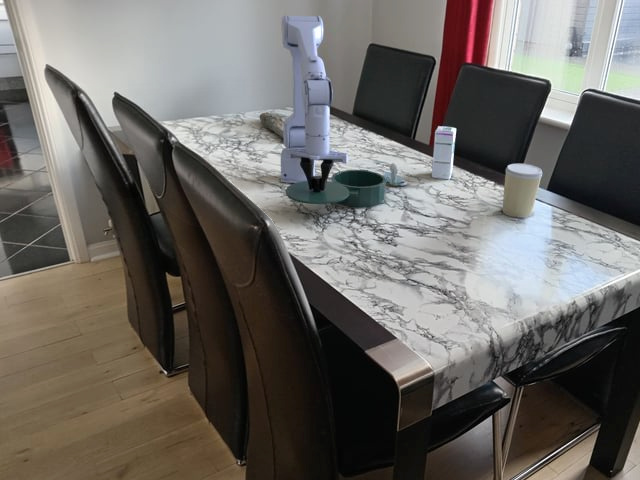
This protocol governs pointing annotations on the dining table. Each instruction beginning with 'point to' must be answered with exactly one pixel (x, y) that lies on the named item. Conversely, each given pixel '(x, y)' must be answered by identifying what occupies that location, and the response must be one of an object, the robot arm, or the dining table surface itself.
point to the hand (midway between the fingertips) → (317, 188)
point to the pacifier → (394, 177)
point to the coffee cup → (520, 189)
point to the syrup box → (443, 152)
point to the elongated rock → (273, 122)
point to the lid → (317, 192)
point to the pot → (361, 187)
